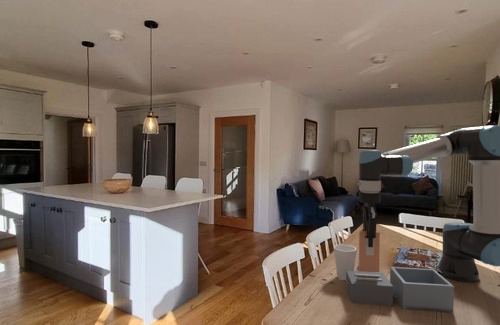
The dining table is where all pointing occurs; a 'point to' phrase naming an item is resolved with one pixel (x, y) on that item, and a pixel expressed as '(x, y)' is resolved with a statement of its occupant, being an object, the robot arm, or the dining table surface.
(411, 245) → the dining table surface
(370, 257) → the terracotta flat slab
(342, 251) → the foam cup
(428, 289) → the bin
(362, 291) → the dispenser
